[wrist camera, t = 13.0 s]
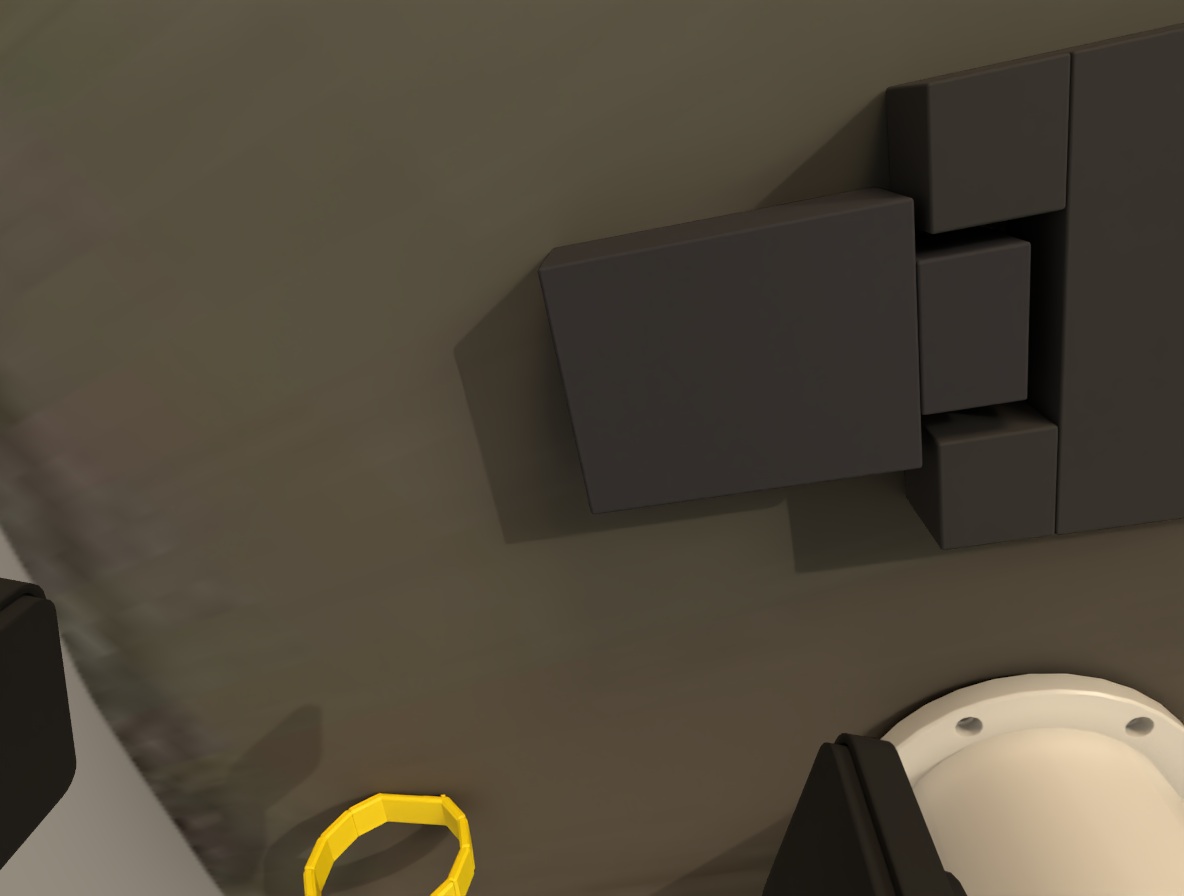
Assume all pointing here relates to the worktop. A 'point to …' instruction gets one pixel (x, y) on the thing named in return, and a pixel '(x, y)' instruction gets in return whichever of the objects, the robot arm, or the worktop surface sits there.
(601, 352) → the tongue pad
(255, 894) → the worktop surface
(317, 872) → the watch
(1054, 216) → the notch pad
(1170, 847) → the robot arm
